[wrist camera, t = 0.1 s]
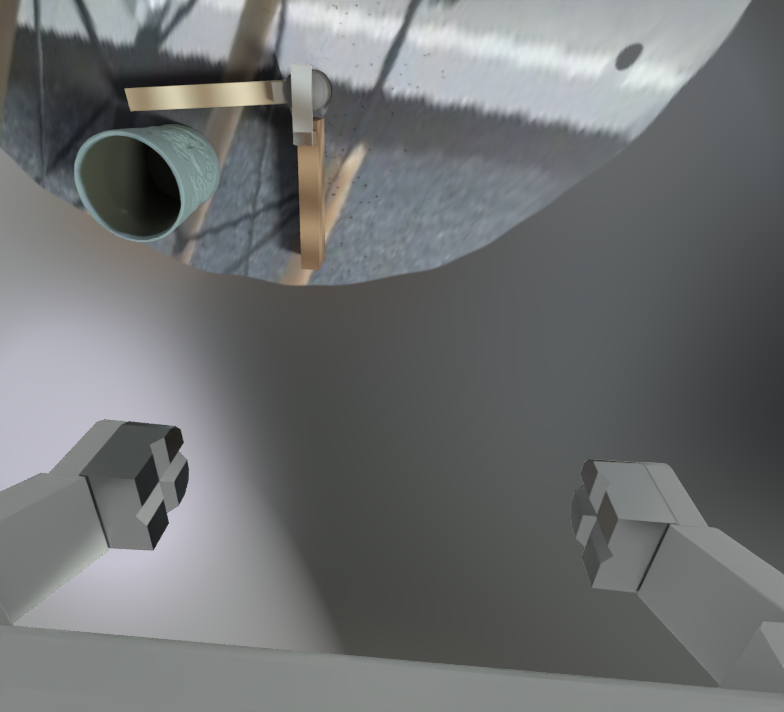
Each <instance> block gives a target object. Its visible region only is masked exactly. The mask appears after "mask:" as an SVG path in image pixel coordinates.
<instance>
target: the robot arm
mask: <svg viewBox="0 0 784 712" xmlns="http://www.w3.org/2000/svg"><path fill="white" fill-rule="evenodd" d="M183 443H184V441H183V437H182V433H181V429H179V428H178V427H176V426H169V425H159V424H149V423H139V422H130V421H129V422H124V421H116V420H105V419H104V420H102V421H98V422H96V423H95V424H94V426H93V427H92V428H91V429H90V430H89V431H88V432H87V433H86V434H85V435H84V436H83V437H82V439H81V440H80V441H79V442H78V443H77V444H76V445H75V446H74V447H73V448H72V449H71V450H70V451H69V452H68V453H67V454H66V455H65V457H64V458H63V459H62V460H61V461H60V462H59V463H58V464H57V465H56V466H55V467H54V468H53V469H52V470H51V471H50V473H49V474H47V473H40V474H37V475H35V476H33V477H31V478H29V479H27V480H24V481H22V482H20V483H18V484H16V485H14V486H12V487H9V488H7V489H5V490H3V491H1V492H0V712H784V575H783V574H782V573H781V572H779V571H777V570H776V569H775V568H773V567H772V566H770V565H769V564H768V563H766V562H765V561H763V560H762V559H760V558H759V557H757V556H756V555H755V554H753V553H752V552H750V551H749V550H748V549H746V548H745V547H743V546H742V545H740V544H739V543H737V542H736V541H735V540H733V539H732V538H730V537H729V536H727V535H726V534H725V533H723V532H722V531H720V530H719V529H717V528H710V527H708V526H707V524H706V523H705V521H704V519H703V518H702V516H701V515H700V513H699V511H698V510H697V508H696V507H695V505H694V503H693V502H692V500H691V499H690V497H689V495H688V494H687V492H686V491H685V489H684V487H683V486H682V484H681V483H680V481H679V479H678V478H677V476H676V475H675V473H674V471H673V470H672V468H671V467H670V466H668V465H667V464H665V463H648V462H639V463H636V462H623V461H610V460H597V459H587V460H586V462H585V463H584V465H583V467H582V470H581V473H580V475H581V477H582V480H583V483H584V484H583V485H582V486H581V487H579V488H578V489H577V490H575V492H574V496H573V500H572V503H571V521H572V527H573V531H574V534H575V538H576V539H577V540H578V541H579V542H580V543H581V544H582V545H584V546H585V550H584V552H583V555H582V560H583V563H584V566H585V568H586V571H587V575H588V578H589V581H590V584H591V587H592V588H599V589H609V590H617V591H626V592H635V593H638V596H639V597H640V598H641V600H642V601H643V602H644V603H645V604H646V605H647V606H648V607H649V608H650V609H651V610H652V611H653V613H654V614H655V615H656V616H657V617H658V618H659V619H660V620H661V621H662V622H663V623H664V625H665V626H666V627H667V628H668V629H669V630H670V631H671V632H672V633H673V634H674V636H675V637H676V638H677V639H678V640H679V641H680V642H681V643H682V644H683V645H684V646H685V647H686V649H687V650H688V651H689V652H690V653H691V654H692V655H693V656H694V657H695V658H696V659H697V660H698V662H699V663H700V664H701V665H702V666H703V667H704V668H705V669H706V670H707V672H708V673H709V674H710V675H711V676H712V677H713V678H714V679H715V680H716V681H717V682H718V684H719V687H718V688H711V687H700V686H689V685H677V684H666V683H655V682H644V681H632V680H621V679H609V678H598V677H588V676H576V675H564V674H553V673H541V672H530V671H519V670H507V669H496V668H485V667H473V666H462V665H450V664H438V663H427V662H416V661H405V660H394V659H382V658H371V657H360V656H348V655H338V654H326V653H315V652H304V651H292V650H282V649H270V648H259V647H248V646H237V645H226V644H214V643H203V642H191V641H180V640H169V639H158V638H146V637H134V636H124V635H113V634H112V635H111V634H100V633H90V632H79V631H67V630H55V629H45V628H33V627H22V626H14V625H13V623H14V622H16V621H17V620H18V619H20V618H21V617H22V616H24V615H25V614H26V613H27V612H29V611H30V610H32V609H33V608H34V607H35V606H37V605H38V604H39V603H41V602H42V601H43V600H45V599H46V598H47V597H48V596H50V595H51V594H53V593H54V592H55V591H56V590H58V589H59V588H60V587H62V586H63V585H64V584H66V583H67V582H68V581H70V580H71V579H72V578H73V577H75V576H76V575H77V574H79V573H80V572H81V571H83V570H84V569H85V568H86V567H88V566H89V565H90V564H92V563H93V562H95V561H96V560H97V559H98V558H100V557H101V556H102V555H104V554H105V553H106V552H108V551H109V548H118V549H135V550H136V549H137V550H154V549H155V547H156V545H157V543H158V541H159V540H160V538H161V536H162V534H163V533H164V531H165V529H166V527H167V526H168V524H169V521H168V516H167V513H168V512H169V511H171V510H173V509H174V508H176V507H177V506H179V504H180V502H181V500H182V498H183V497H184V495H185V492H186V488H187V484H188V480H189V467H188V462H187V459H186V458H185V457H184V456H183V455H182V454H181V453H180V452H179V449H180V448H181V446H182V445H183Z"/></svg>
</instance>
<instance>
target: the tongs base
mask: <svg viewBox="0 0 784 712" xmlns="http://www.w3.org/2000/svg"><path fill="white" fill-rule="evenodd" d="M125 92H126V96H127V100H128V104H129V107H130V111H144V110H165V109H185V108H206V107H226V106H247V105H267V104H285V103H289V105H290V106H291V107H292V89H291V74H290V75H289V76H288V78H287V79H286V80H272V81H253V82H234V83H214V84H195V85H176V86H157V87H140V88H126V89H125ZM331 95H332V86H331V83H330V80H329V79H328V77H327V76H326V75H325V74H324V73H323V72H321V71H319V70H315V69H312V107H313V111H314V110H317V109H319V108H322V107H324V106H325V105H326V104H327V103H328V102H329V100H330V98H331Z"/></svg>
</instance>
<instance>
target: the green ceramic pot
mask: <svg viewBox="0 0 784 712" xmlns="http://www.w3.org/2000/svg"><path fill="white" fill-rule="evenodd" d="M74 179H75V185H76V188H77V191H78V194H79V196H80V198H81V200H82V202H83V204H84V206H85V207H86V209H87V210H88V212H89V213H90V214H91V215H92V217H93V218H94V219H95V220H96V221H97V222H98V223H99V224H100V225H101V226H103V227H104V228H105V229H107V230H108V231H110V232H111V233H113V234H115V235H117V236H119V237H121V238H124V239H128V240H131V241H134V242H151V241H156V240H158V239H161V238H163V237H165V236H167V235H169V234H170V233H171V232H172V231H173V230H174V229H176V228H177V227H178V226H179V225H180V224H181V223H182V222H183V221H184V220H185V219H186V218H187V217H188V216H189V215H190V214H191V213H192V212H194V211H195V210H196V209H197V207H198V206H199V205H200V204H202V203H204V202H206V201H207V200H208V199H209V198H210V197H211V196H212V195H213V194H214V192H215V191H216V190H217V187H218V184H219V180H220V166H219V161H218V157H217V154H216V152H215V150H214V148H213V147H212V145H211V144H210V143H209V142H208V140H207V139H206V138H205V137H204V136H203V135H201V134H200V133H199V132H197V131H195V130H194V129H192V128H190V127H187V126H184V125H180V124H165V125H162V126H150V127H146V128H128V129H117V130H108V131H103V132H100V133H98V134H96V135H94V136H92V137H90V138H89V139H87V140H86V141H85V142H84V143H83V144H82V146H81V147H80V149H79V151H78V153H77V156H76V159H75V164H74Z"/></svg>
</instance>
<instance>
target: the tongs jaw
mask: <svg viewBox="0 0 784 712" xmlns="http://www.w3.org/2000/svg"><path fill="white" fill-rule="evenodd" d="M291 89H292V117H293V145H298V176H299V207H300V238H301V269H311V270H319V269H320V267H321V265H322V263H323V261H324V260H325V194H324V118H317V117H313V107H312V65H301V64H291Z"/></svg>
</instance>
